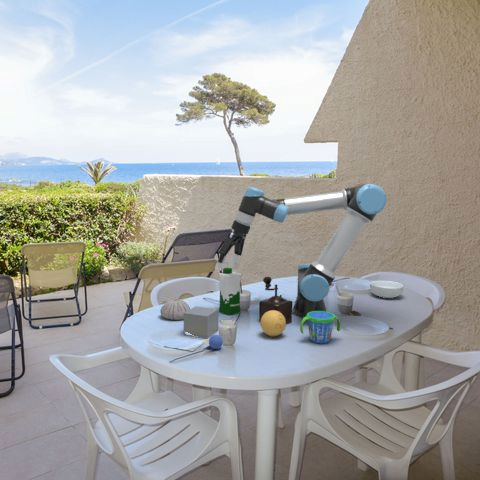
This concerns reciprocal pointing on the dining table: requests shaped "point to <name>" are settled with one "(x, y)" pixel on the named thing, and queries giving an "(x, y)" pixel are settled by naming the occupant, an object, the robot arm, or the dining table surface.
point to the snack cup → (320, 325)
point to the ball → (215, 341)
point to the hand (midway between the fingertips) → (224, 268)
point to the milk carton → (229, 292)
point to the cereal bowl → (386, 288)
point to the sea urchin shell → (174, 309)
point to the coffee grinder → (275, 303)
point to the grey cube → (201, 321)
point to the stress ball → (273, 323)
